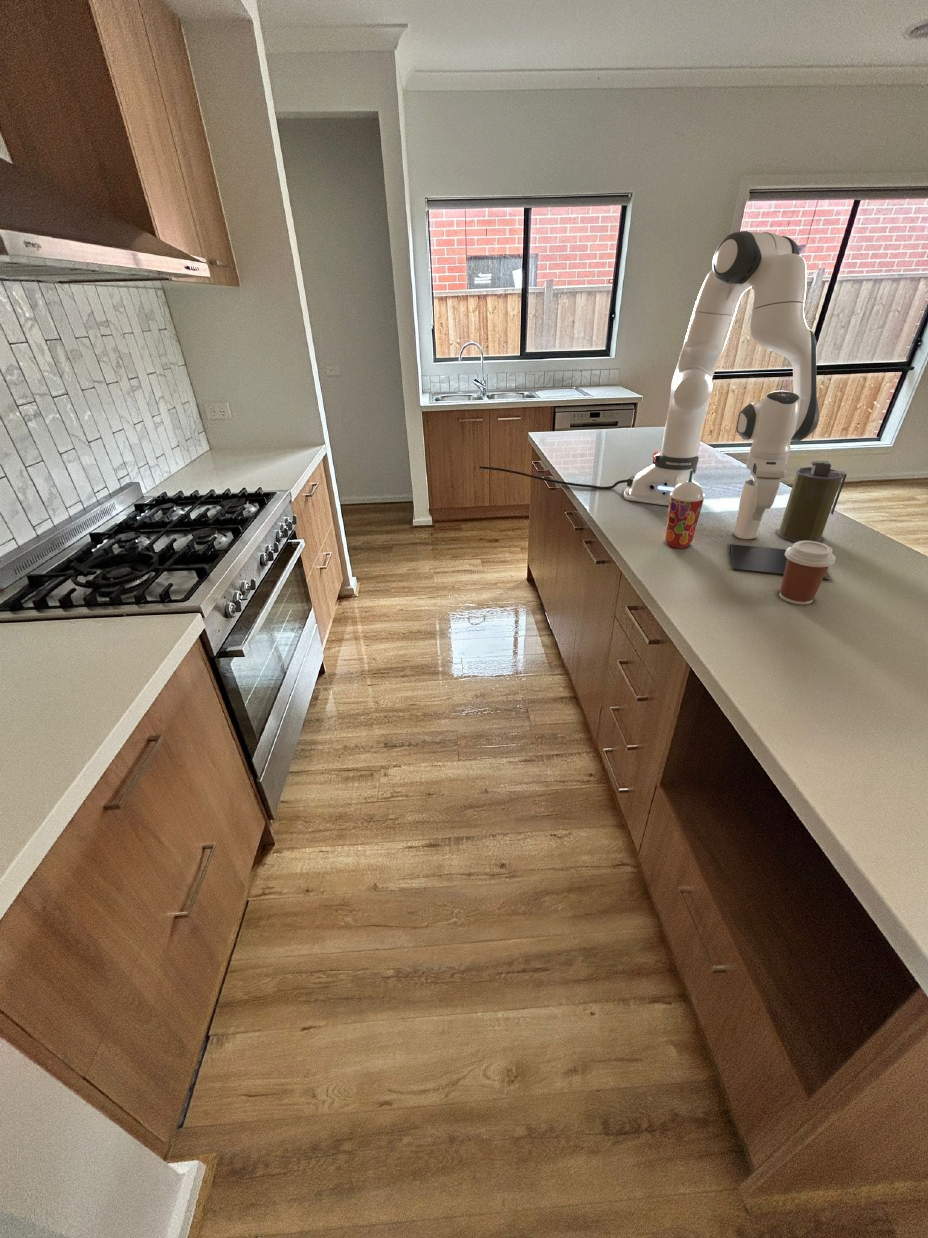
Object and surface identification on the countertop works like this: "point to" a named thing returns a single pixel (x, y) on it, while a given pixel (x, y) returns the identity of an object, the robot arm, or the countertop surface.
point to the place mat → (759, 559)
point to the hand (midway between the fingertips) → (754, 513)
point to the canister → (811, 502)
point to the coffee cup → (805, 570)
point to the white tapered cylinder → (747, 513)
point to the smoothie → (683, 513)
